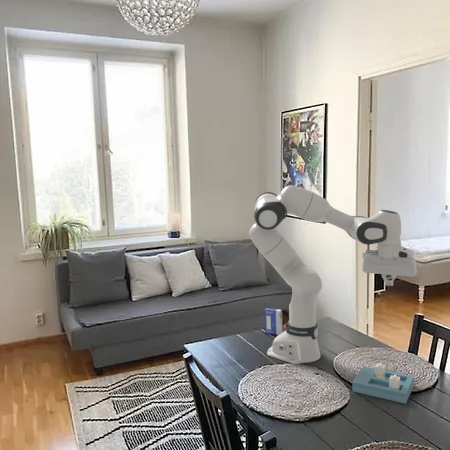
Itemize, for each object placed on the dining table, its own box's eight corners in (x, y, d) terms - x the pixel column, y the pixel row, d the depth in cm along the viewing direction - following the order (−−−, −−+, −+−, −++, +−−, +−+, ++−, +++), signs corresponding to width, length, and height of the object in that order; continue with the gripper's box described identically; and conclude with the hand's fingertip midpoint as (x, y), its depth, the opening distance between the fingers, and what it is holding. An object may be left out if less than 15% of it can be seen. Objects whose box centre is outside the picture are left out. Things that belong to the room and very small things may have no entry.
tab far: (374, 378, 167) (374, 365, 167) (376, 375, 170) (376, 361, 169) (383, 380, 166) (383, 366, 165) (385, 376, 168) (385, 363, 168)
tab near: (389, 391, 158) (389, 377, 157) (391, 387, 160) (391, 373, 160) (398, 393, 156) (398, 378, 156) (400, 389, 159) (400, 375, 158)
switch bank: (352, 391, 163) (352, 381, 163) (363, 375, 175) (363, 366, 174) (405, 403, 153) (405, 393, 153) (414, 385, 165) (414, 376, 165)
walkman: (264, 333, 222) (264, 309, 220) (267, 331, 224) (266, 307, 223) (280, 335, 218) (279, 310, 217) (282, 333, 221) (281, 308, 219)
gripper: (360, 250, 184) (360, 284, 186) (414, 254, 173) (414, 290, 175) (364, 248, 189) (364, 280, 191) (417, 251, 178) (417, 285, 180)
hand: (389, 285), depth 183 cm, fingers closed
